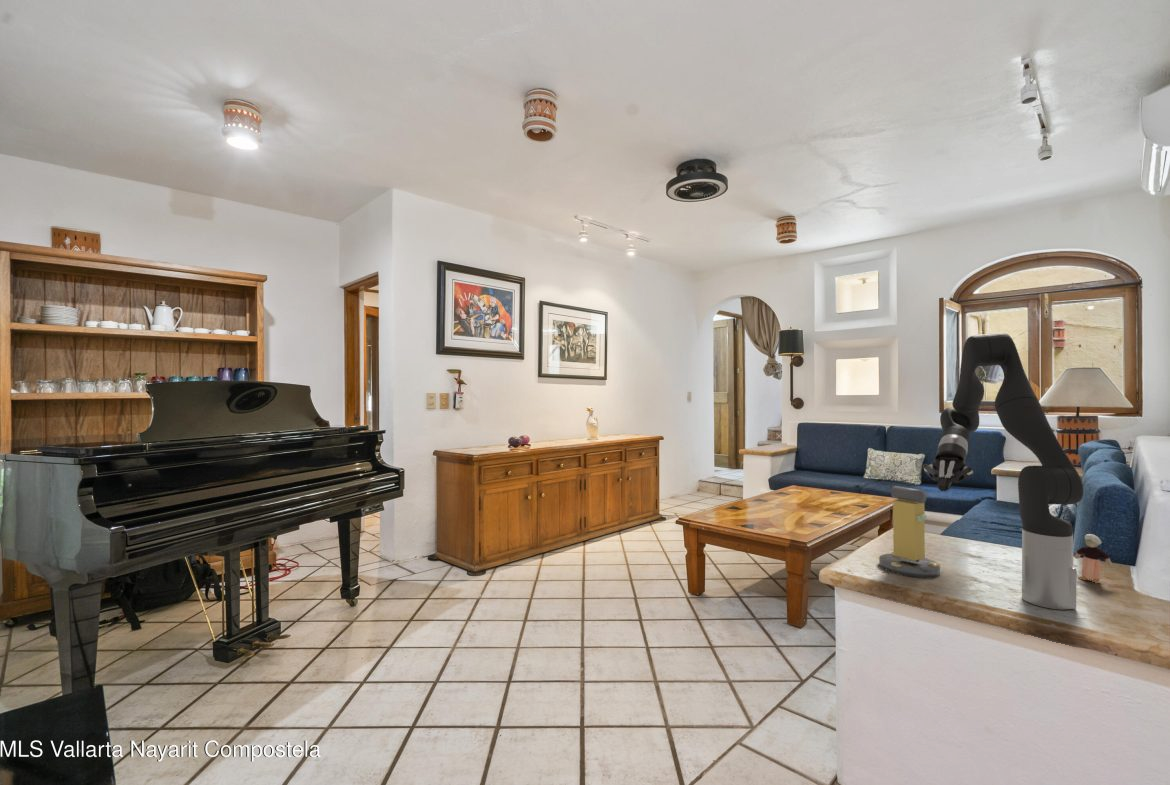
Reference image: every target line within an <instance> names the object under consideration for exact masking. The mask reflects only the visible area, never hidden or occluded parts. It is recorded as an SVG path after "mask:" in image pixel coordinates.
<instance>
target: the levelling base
mask: <svg viewBox="0 0 1170 785" xmlns="http://www.w3.org/2000/svg"><path fill="white" fill-rule="evenodd" d="M878 560H879V561H878V562H879V567H880V566H881V567H880V568H882V567H883V568H884V569H883V568H882V569H883V570H885V569H887V570H889V571H892V572H895V573H894V574H896V573H899V574H902V575H901V576H904V575H906V576H905V577H909V576H912V577H911V578H918V577H924V578H923V579H927V578H926V577H932V578H936V576H937V577H939V576H940V575H941V563H938V562H937V561H935V560H933V559H929V558H926V557H925V558H923V559H920V560H919V562H916V561H912V560H908V559H905V558H901V557H899V556H895V555H894V551H892V552H891V553H883V554H881V555H880V556H879V557H878ZM887 570H886V571H887ZM889 571H888V572H889ZM892 572H891V573H892ZM899 574H898V575H899Z"/></svg>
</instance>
